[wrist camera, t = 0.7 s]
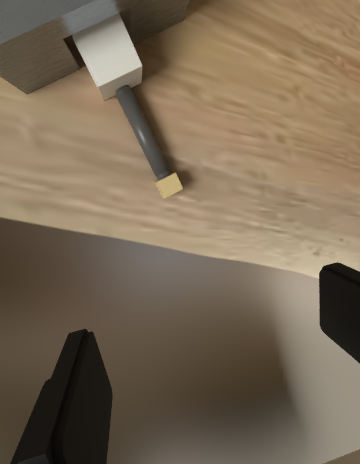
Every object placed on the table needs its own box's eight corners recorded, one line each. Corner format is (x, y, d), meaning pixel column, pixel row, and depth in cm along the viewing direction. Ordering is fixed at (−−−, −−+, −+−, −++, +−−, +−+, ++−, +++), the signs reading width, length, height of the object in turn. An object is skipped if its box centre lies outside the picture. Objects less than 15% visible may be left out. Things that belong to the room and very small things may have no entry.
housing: (166, -25, 24) (181, -125, 16) (183, 20, 25) (205, -51, 17) (1, 51, 23) (-73, -12, 15) (26, 94, 24) (-29, 57, 16)
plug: (120, 37, 24) (117, 9, 20) (187, 183, 29) (195, 186, 25) (81, 55, 24) (69, 31, 20) (154, 200, 29) (157, 205, 25)
